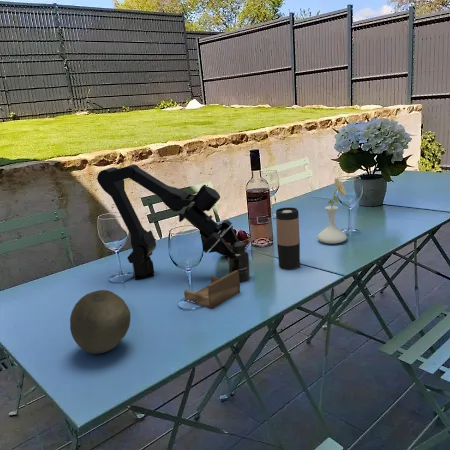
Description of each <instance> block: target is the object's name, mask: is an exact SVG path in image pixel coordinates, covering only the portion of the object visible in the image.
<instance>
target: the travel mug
mask: <svg viewBox="0 0 450 450" xmlns="http://www.w3.org/2000/svg"><path fill="white" fill-rule="evenodd" d="M299 219H300V218H299V210H298V208H296V207H281V208H278V209H276V210H275V220H276V222H275V224H276V227H275V228H276V245H277V246H276V247H277V258H278V267H279V268H280V269H282V270H285V271H288V270H289V271H290V270H297V269H299V268H300V265H301V259H300V258H301V255H300V254H301V246H300V244H301V239H300V220H299Z"/></svg>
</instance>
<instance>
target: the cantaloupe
mask: <svg viewBox="0 0 450 450" xmlns="http://www.w3.org/2000/svg"><path fill="white" fill-rule="evenodd" d="M130 310H131V309H130V308H129V307H128V305H127V303H126V302H125V300H124V299H123V298H122V297H121V296H119V295H118V294H116V293H114V292H113V291H110V290H107V289H98V290H95V291H92V292H89V293H87V294H85V295H83V296H82V297H81V298H79V300H78V301H77V302H76V303H75V304H74V306H73V308H72V311H71V314H70V317H69V322H70V323H69V324H70V325H69V328H70V329H69V330H70V334H71V336H72V339H73V340H74V342H75V343H76V344H77V345H78V347H79V348H81V349H82V350H83V351H85V352H86V353H90V354H95V355H96V354H104V353H107V352H109V351H111V350H113V349H114V348H116V347H117V345H119V344H120V342H121V341H122V339H123V338H125V336H126V334H127V333H128V331H129V328H130V325H131V311H130Z"/></svg>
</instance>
